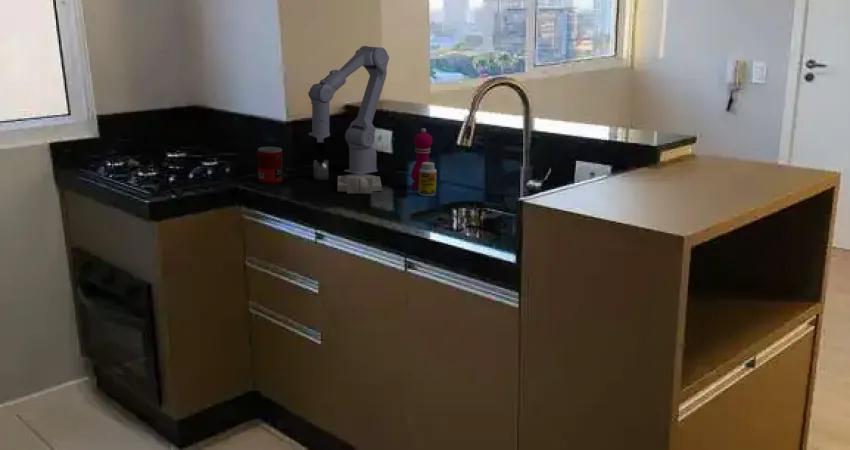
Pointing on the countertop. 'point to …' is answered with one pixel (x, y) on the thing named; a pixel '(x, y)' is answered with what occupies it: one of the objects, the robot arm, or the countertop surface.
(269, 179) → the canned food
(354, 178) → the scale
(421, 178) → the supplement bottle
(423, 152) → the pepper mill
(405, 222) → the countertop surface
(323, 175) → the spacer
